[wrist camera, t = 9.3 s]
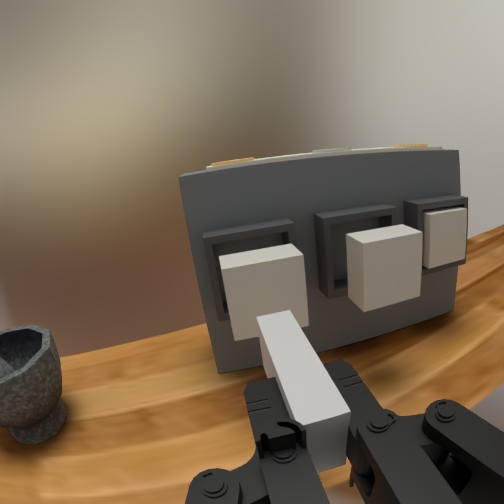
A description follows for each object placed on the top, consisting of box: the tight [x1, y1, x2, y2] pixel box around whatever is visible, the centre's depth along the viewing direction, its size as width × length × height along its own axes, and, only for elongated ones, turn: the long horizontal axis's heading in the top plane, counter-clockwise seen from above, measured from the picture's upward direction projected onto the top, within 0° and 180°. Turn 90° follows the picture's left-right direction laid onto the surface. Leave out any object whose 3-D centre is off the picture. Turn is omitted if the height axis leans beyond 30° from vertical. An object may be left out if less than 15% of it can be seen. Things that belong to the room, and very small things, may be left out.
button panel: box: [179, 144, 468, 373], centre depth 26 cm, size 24×7×16 cm, turn 98°
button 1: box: [219, 244, 309, 341], centre depth 19 cm, size 4×2×4 cm, turn 98°
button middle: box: [346, 224, 423, 312], centre depth 20 cm, size 4×2×4 cm, turn 98°
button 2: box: [422, 205, 467, 269], centre depth 24 cm, size 4×2×4 cm, turn 98°
